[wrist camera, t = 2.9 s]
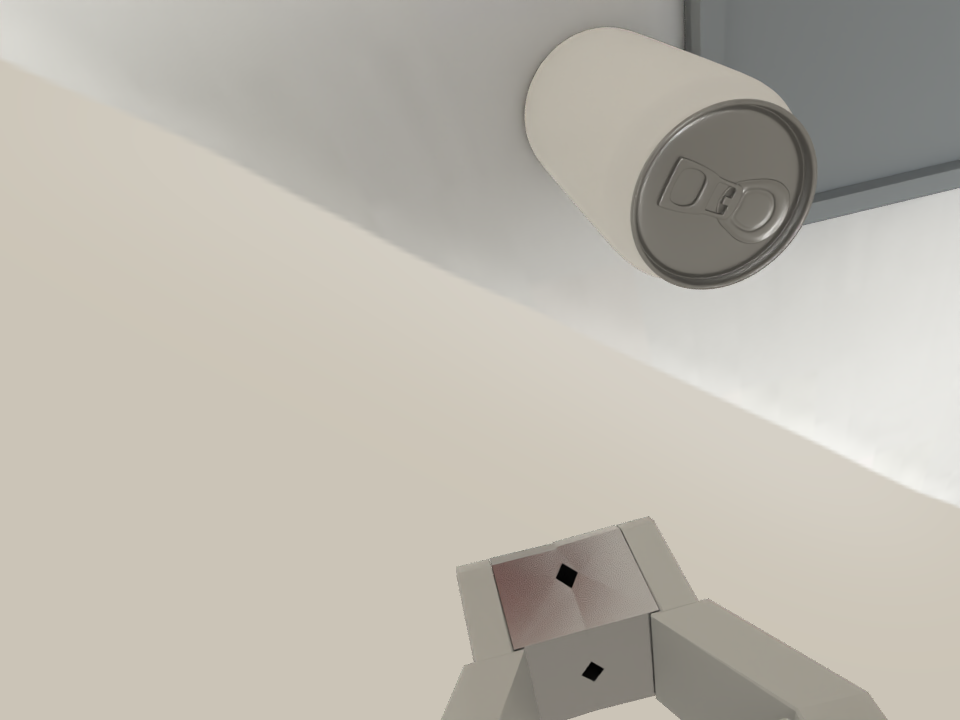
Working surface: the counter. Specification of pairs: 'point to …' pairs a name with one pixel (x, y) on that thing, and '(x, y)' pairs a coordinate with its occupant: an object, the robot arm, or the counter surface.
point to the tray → (852, 87)
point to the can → (671, 155)
